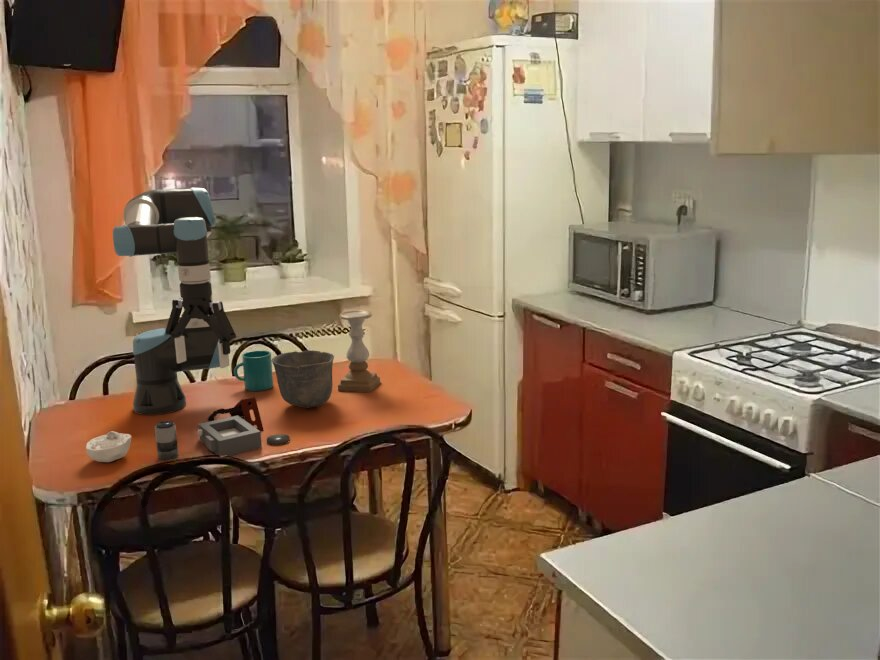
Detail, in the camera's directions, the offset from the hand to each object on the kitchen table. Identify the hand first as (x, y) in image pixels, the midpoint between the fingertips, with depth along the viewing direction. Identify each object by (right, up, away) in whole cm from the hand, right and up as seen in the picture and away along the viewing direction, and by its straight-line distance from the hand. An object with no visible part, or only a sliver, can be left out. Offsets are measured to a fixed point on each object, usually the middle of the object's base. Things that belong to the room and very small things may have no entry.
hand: (203, 364), depth 210 cm
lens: (-9, -24, +2) cm, 26 cm away
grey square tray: (+4, -21, +10) cm, 24 cm away
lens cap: (+17, -21, +11) cm, 29 cm away
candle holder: (+34, -10, +57) cm, 67 cm away
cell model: (-24, -24, +2) cm, 34 cm away
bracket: (+2, -19, +24) cm, 30 cm away
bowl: (+20, -14, +39) cm, 46 cm away
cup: (0, -10, +58) cm, 59 cm away
